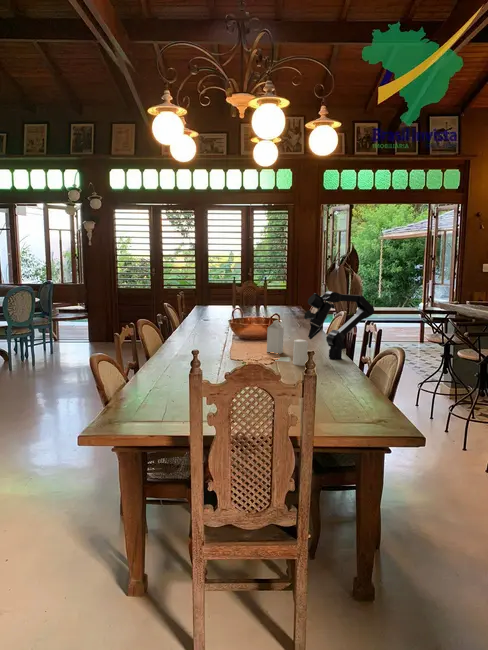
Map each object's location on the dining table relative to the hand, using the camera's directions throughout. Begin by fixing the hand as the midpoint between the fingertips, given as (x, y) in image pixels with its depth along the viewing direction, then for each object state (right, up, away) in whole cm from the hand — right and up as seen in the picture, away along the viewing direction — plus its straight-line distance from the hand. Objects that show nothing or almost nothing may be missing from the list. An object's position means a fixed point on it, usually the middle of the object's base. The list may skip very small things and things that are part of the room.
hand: (309, 338), depth 264 cm
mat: (-15, -12, +1) cm, 19 cm away
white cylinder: (-6, -13, -9) cm, 17 cm away
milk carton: (-18, -9, +17) cm, 26 cm away
